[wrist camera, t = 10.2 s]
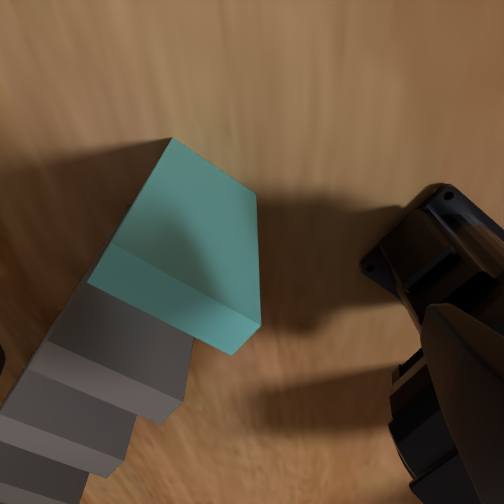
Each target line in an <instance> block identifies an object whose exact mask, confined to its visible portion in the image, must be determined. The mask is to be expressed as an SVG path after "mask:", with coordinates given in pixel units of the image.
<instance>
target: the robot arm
mask: <svg viewBox="0 0 504 504" xmlns="http://www.w3.org/2000/svg"><path fill="white" fill-rule="evenodd" d="M450 191H451V192H450ZM447 192H450V195H449V196H447V197H444V195H445V193H447ZM371 264H372V267H370V268H366V267H367V266H368V265H371ZM360 269H361V271H362V273H363V274H364V275H366V276H367V277H369V278H370V279H372V280H373V281H375V282H376V283H378V284H379V285H380V286H382V287H383V288H385V289H386V290H388V291H389V292H391V293H392V294H394V295H395V296H396V297H398V298H399V299H401V300H402V301H403V303H404V305H405V307H406V309H407V311H408V313H409V315H410V317H411V319H412V321H413V323H414V324H415V326H416V328H417V330H418V332H419V334H420V341H421V346H422V347H421V348H420V349H419V350H418V351H417V352H416V353H415V354H414V355H413V356H412V357H411V358H410V359H409V360H407V361H406V362H405V363H404V364H403V365H399V366H398V367H397V368H396V369H395V370H393V371H392V390H391V393H390V396H389V398H390V405H391V413H392V417H393V419H392V420H390V421H389V423H388V426H389V432H390V435H391V437H392V439H393V442H394V444H395V446H396V449H397V452H398V454H399V456H400V458H401V460H402V462H403V464H404V466H405V468H406V469H407V471H408V472H409V474H410V475H411V477H412V478H413V481H411V482H410V483H409V487H410V489H411V491H412V492H413V493H414V494H415V495H416V496H417V497H418V498H419V499H420V500H421V501H422V502H423V503H424V504H504V230H503V229H502V228H501V227H500V226H499V225H498V224H496V223H495V222H494V221H493V220H492V219H491V218H490V217H489V216H487V215H486V214H485V213H484V212H483V211H482V210H481V209H479V208H478V207H477V206H476V205H475V204H474V203H473V202H471V201H470V200H469V199H468V198H467V197H466V196H465V195H463V194H462V193H461V192H460V191H459V190H458V189H457V188H455V187H454V186H453V185H451V184H445V185H442V186H441V187H439V188H438V189H437V190H436V191H435V192H434V193H433V194H432V195H431V196H430V197H429V198H427V199H426V200H425V201H424V202H423V203H422V204H421V205H420V206H419V207H418V208H417V209H416V210H413V211H412V212H411V213H410V214H409V215H408V216H407V217H405V218H404V219H403V220H402V221H401V222H400V223H399V224H398V225H397V226H396V227H395V228H394V229H393V230H392V231H391V232H390V233H389V234H387V235H386V236H385V237H384V238H383V239H382V240H381V241H380V244H379V245H378V246H377V247H375V248H374V249H373V250H372V251H371V252H370V253H369V254H368V255H367V256H366V257H365V258H364V259H363V260H362V261H361V262H360ZM4 364H5V353H4V350H3V349H2V347H1V345H0V375H1V373H2V370H3V367H4Z"/></svg>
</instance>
